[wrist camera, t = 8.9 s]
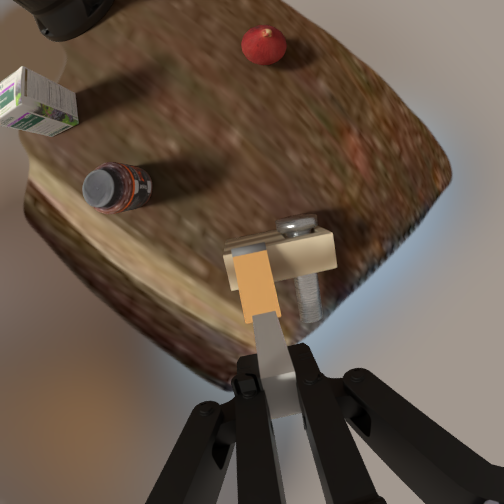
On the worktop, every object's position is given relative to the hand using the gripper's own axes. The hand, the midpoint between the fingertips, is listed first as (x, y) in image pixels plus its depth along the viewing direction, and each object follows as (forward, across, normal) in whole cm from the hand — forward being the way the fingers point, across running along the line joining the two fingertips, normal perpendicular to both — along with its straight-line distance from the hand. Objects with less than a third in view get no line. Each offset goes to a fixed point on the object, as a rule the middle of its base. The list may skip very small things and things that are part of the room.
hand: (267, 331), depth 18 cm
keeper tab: (+12, 0, +1) cm, 12 cm away
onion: (+23, -7, -28) cm, 36 cm away
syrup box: (+23, +24, -28) cm, 43 cm away
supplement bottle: (+23, +14, -12) cm, 29 cm away
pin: (+20, -6, +2) cm, 21 cm away
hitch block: (+22, -3, 0) cm, 23 cm away
